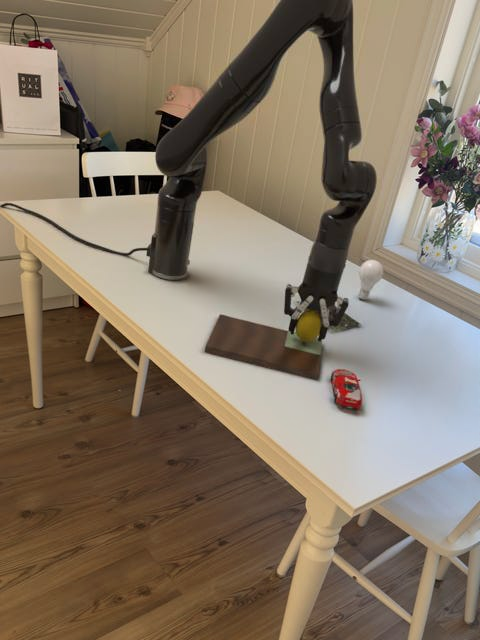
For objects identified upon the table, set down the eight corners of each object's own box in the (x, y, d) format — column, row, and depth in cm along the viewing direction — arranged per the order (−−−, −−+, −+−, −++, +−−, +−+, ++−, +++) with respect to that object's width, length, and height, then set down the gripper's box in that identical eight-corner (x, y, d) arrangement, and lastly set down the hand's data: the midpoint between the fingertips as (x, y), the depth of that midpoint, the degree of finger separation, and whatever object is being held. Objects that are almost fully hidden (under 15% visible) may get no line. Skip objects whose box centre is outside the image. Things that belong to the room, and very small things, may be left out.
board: (204, 352, 125) (205, 345, 124) (218, 319, 138) (220, 313, 137) (316, 380, 124) (318, 373, 123) (320, 345, 137) (322, 338, 136)
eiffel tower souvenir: (361, 327, 149) (379, 277, 142) (332, 332, 144) (348, 280, 136) (323, 300, 158) (338, 251, 151) (294, 303, 153) (307, 253, 145)
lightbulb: (376, 299, 166) (389, 261, 159) (370, 306, 161) (383, 267, 154) (354, 291, 167) (366, 253, 161) (348, 298, 162) (360, 260, 156)
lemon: (315, 350, 131) (324, 318, 126) (290, 344, 131) (299, 311, 127) (317, 339, 135) (326, 307, 131) (293, 333, 136) (302, 301, 131)
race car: (328, 375, 127) (333, 359, 125) (353, 380, 127) (359, 363, 125) (333, 410, 116) (339, 393, 114) (360, 415, 117) (366, 398, 114)
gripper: (360, 265, 125) (337, 336, 135) (293, 249, 126) (275, 321, 136) (360, 278, 119) (336, 352, 129) (290, 261, 120) (272, 336, 130)
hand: (305, 336), depth 132 cm, fingers closed on lemon, 5 cm apart
